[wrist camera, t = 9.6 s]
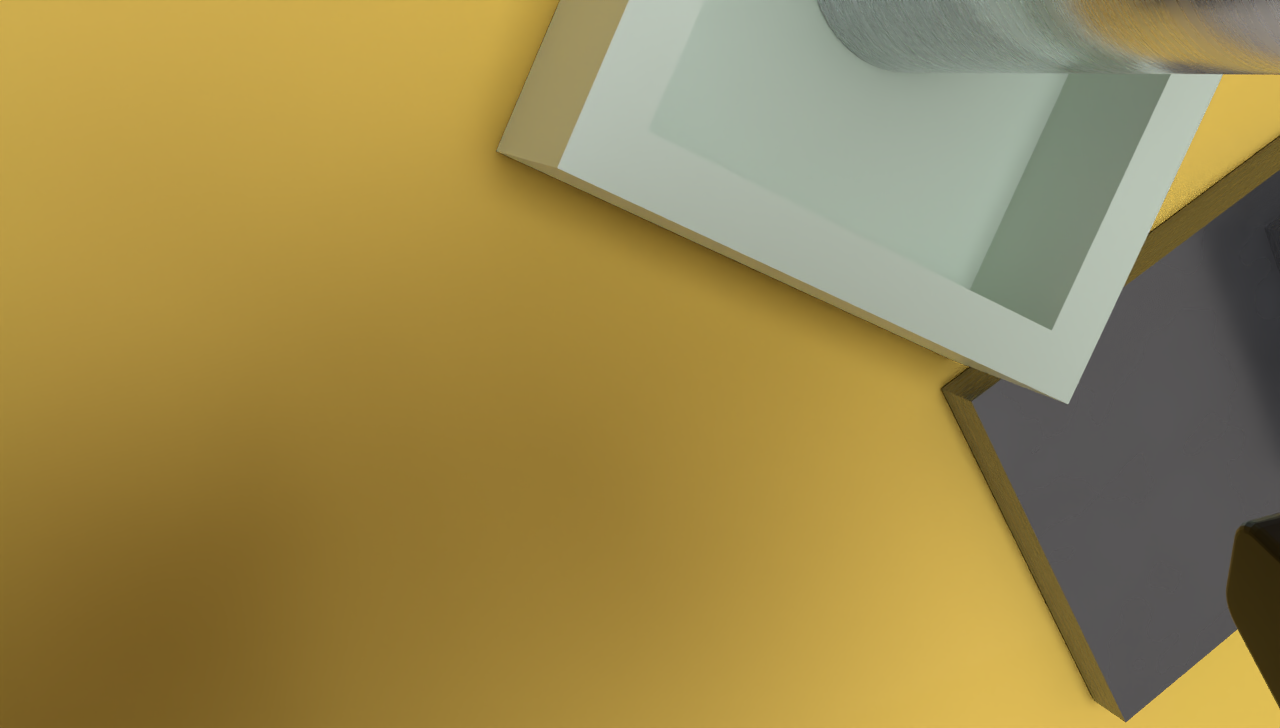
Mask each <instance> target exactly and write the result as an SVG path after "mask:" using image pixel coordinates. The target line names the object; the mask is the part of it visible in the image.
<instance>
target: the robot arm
mask: <svg viewBox="0 0 1280 728" xmlns="http://www.w3.org/2000/svg"><path fill="white" fill-rule="evenodd" d="M1226 600H1227V605H1228V609H1229V611H1230V614H1231V617H1232V619H1233V621H1234V623H1235V625H1236V627H1237V629H1238V631H1239V633H1240V635H1241V636H1242V638H1243V640H1244V642H1245V644H1246V646H1247V648H1248V650H1249V652H1250V653H1251V655H1252V657H1253V659H1254V661H1255V663H1256V665H1257V667H1258V669H1259V670H1260V672H1261V674H1262V676H1263V678H1264V680H1265V682H1266V684H1267V686H1268V688H1269V689H1270V691H1271V693H1272V695H1273V697H1274V699H1275V701H1276V703H1277V705H1278V706H1279V708H1280V513H1276V514H1272V515H1268V516H1264V517H1261V518H1257V519H1253V520H1249V521H1246V522H1244V523H1242V524H1241V525H1240V527H1239V528H1238V529H1237V530H1236V533H1235V537H1234V543H1233V549H1232V555H1231V561H1230V567H1229V573H1228V579H1227V585H1226Z"/></svg>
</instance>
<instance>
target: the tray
mask: <svg viewBox="0 0 1280 728" xmlns="http://www.w3.org/2000/svg"><path fill="white" fill-rule="evenodd" d="M1222 75H1223V74H1065V73H903V72H893V71H889V70H885V69H881V68H879V67H876V66H874V65H871V64H869V63H867V62H866V61H864V60H862V59H861V58H859V57H857V56H856V55H855V54H854V53H853V52H851V51H850V50H849V49H848V48H847V47H846V46H845V45H844V44H843V43H842V42H841V41H840V40H839V39H838V38H837V36H836V35H835V34H834V32H833V31H832V29H831V28H830V27H829V25H828V23H827V21H826V19H825V18H824V16H823V14H822V12H821V9H820V7H819V4H818V2H817V0H560V2H559V4H558V6H557V9H556V11H555V13H554V16H553V18H552V20H551V23H550V25H549V28H548V30H547V32H546V35H545V37H544V39H543V42H542V44H541V46H540V49H539V51H538V54H537V56H536V58H535V61H534V63H533V65H532V68H531V70H530V72H529V75H528V77H527V80H526V82H525V84H524V87H523V89H522V91H521V94H520V96H519V98H518V101H517V103H516V106H515V108H514V110H513V113H512V115H511V117H510V120H509V122H508V124H507V127H506V129H505V131H504V134H503V136H502V139H501V141H500V143H499V146H498V148H497V150H496V151H497V152H499V153H501V154H504V155H506V156H508V157H510V158H512V159H514V160H517V161H519V162H521V163H523V164H525V165H528V166H530V167H532V168H534V169H536V170H538V171H541V172H543V173H545V174H547V175H549V176H552V177H554V178H556V179H558V180H560V181H562V182H565V183H567V184H569V185H571V186H573V187H576V188H578V189H580V190H582V191H584V192H586V193H589V194H591V195H593V196H595V197H597V198H600V199H602V200H604V201H606V202H608V203H610V204H613V205H615V206H617V207H619V208H621V209H624V210H626V211H628V212H630V213H632V214H634V215H637V216H639V217H641V218H643V219H645V220H648V221H650V222H652V223H654V224H656V225H658V226H661V227H663V228H665V229H667V230H669V231H672V232H674V233H676V234H678V235H680V236H682V237H685V238H687V239H689V240H691V241H693V242H696V243H698V244H700V245H702V246H704V247H706V248H709V249H711V250H713V251H715V252H717V253H720V254H722V255H724V256H726V257H728V258H730V259H733V260H735V261H737V262H739V263H741V264H744V265H746V266H748V267H750V268H752V269H754V270H757V271H759V272H761V273H763V274H765V275H768V276H770V277H772V278H774V279H776V280H778V281H781V282H783V283H785V284H787V285H789V286H792V287H794V288H796V289H798V290H800V291H802V292H805V293H807V294H809V295H811V296H813V297H816V298H818V299H820V300H822V301H824V302H826V303H829V304H831V305H833V306H835V307H837V308H840V309H842V310H844V311H846V312H848V313H850V314H853V315H855V316H857V317H859V318H861V319H864V320H866V321H868V322H870V323H872V324H874V325H877V326H879V327H881V328H883V329H885V330H888V331H890V332H892V333H894V334H896V335H898V336H901V337H903V338H905V339H907V340H909V341H912V342H914V343H916V344H918V345H920V346H922V347H925V348H927V349H929V350H931V351H933V352H936V353H938V354H940V355H942V356H944V357H946V358H949V359H951V360H954V361H956V362H959V363H961V364H964V365H967V366H969V367H972V368H975V369H977V370H980V371H982V372H985V373H988V374H990V375H993V376H995V377H998V378H1001V379H1003V380H1006V381H1008V382H1011V383H1014V384H1016V385H1019V386H1021V387H1024V388H1027V389H1029V390H1032V391H1034V392H1037V393H1040V394H1042V395H1045V396H1048V397H1050V398H1053V399H1055V400H1058V401H1061V402H1063V403H1066V404H1069V402H1070V400H1071V398H1072V395H1073V393H1074V391H1075V389H1076V387H1077V385H1078V383H1079V380H1080V378H1081V376H1082V374H1083V372H1084V370H1085V368H1086V366H1087V363H1088V361H1089V359H1090V357H1091V355H1092V353H1093V351H1094V348H1095V346H1096V344H1097V342H1098V340H1099V338H1100V336H1101V334H1102V331H1103V329H1104V327H1105V325H1106V323H1107V321H1108V319H1109V316H1110V314H1111V312H1112V310H1113V308H1114V306H1115V304H1116V301H1117V299H1118V297H1119V295H1120V293H1121V291H1122V289H1123V287H1124V284H1125V282H1126V280H1127V278H1128V276H1129V274H1130V272H1131V269H1132V267H1133V265H1134V263H1135V261H1136V259H1137V257H1138V255H1139V252H1140V250H1141V248H1142V246H1143V244H1144V242H1145V240H1146V237H1147V235H1148V233H1149V231H1150V229H1151V227H1152V225H1153V223H1154V220H1155V218H1156V216H1157V214H1158V212H1159V210H1160V208H1161V205H1162V203H1163V201H1164V199H1165V197H1166V195H1167V193H1168V191H1169V188H1170V186H1171V184H1172V182H1173V180H1174V178H1175V176H1176V173H1177V171H1178V169H1179V167H1180V165H1181V163H1182V161H1183V159H1184V156H1185V154H1186V152H1187V150H1188V148H1189V146H1190V144H1191V141H1192V139H1193V137H1194V135H1195V133H1196V131H1197V129H1198V127H1199V124H1200V122H1201V120H1202V118H1203V116H1204V114H1205V112H1206V109H1207V107H1208V105H1209V103H1210V101H1211V99H1212V97H1213V95H1214V92H1215V90H1216V88H1217V86H1218V84H1219V82H1220V80H1221V77H1222Z"/></svg>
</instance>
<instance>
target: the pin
mask: <svg viewBox="0 0 1280 728" xmlns="http://www.w3.org/2000/svg"><path fill="white" fill-rule="evenodd" d="M817 2H818V4H819V7H820V9H821V12H822V14H823V16H824V18H825V19H826V21H827V23H828V25H829V27H830V28H831V29H832V31H833V32H834V34H835V35H836V36H837V38H838V39H839V40H840V41H841V42H842V43H843V44H844V45H845V46H846V47H847V48H848V49H849V50H850V51H851V52H853V53H854V54H855V55H856V56H857V57H859V58H861V59H862V60H864V61H866V62H867V63H869V64H871V65H874V66H876V67H879V68H881V69H885V70H889V71H893V72H903V73H1065V74H1280V0H817Z"/></svg>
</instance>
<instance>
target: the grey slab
mask: <svg viewBox="0 0 1280 728" xmlns="http://www.w3.org/2000/svg"><path fill="white" fill-rule="evenodd" d="M942 391H943V393H944V395H945V397H946V399H947V401H948V403H949V405H950V407H951V409H952V411H953V413H954V415H955V417H956V420H957V422H958V424H959V426H960V428H961V430H962V432H963V434H964V436H965V438H966V440H967V442H968V444H969V446H970V448H971V450H972V452H973V454H974V456H975V458H976V460H977V462H978V464H979V466H980V468H981V471H982V473H983V475H984V477H985V479H986V481H987V483H988V485H989V487H990V489H991V491H992V493H993V495H994V497H995V499H996V501H997V503H998V505H999V507H1000V509H1001V511H1002V513H1003V515H1004V517H1005V519H1006V522H1007V524H1008V526H1009V528H1010V530H1011V532H1012V534H1013V536H1014V538H1015V540H1016V542H1017V544H1018V546H1019V548H1020V550H1021V552H1022V554H1023V556H1024V558H1025V560H1026V562H1027V564H1028V566H1029V568H1030V570H1031V573H1032V575H1033V577H1034V579H1035V581H1036V583H1037V585H1038V587H1039V589H1040V591H1041V593H1042V595H1043V597H1044V599H1045V601H1046V603H1047V605H1048V607H1049V609H1050V611H1051V613H1052V615H1053V617H1054V619H1055V621H1056V624H1057V626H1058V628H1059V630H1060V632H1061V634H1062V636H1063V638H1064V640H1065V642H1066V644H1067V646H1068V648H1069V650H1070V652H1071V654H1072V656H1073V658H1074V660H1075V662H1076V664H1077V666H1078V668H1079V670H1080V672H1081V674H1082V677H1083V679H1084V681H1085V683H1086V685H1087V687H1088V689H1089V691H1090V693H1091V695H1092V697H1093V699H1094V701H1096V702H1097V703H1099V704H1100V705H1101V706H1103V707H1104V708H1106V709H1107V710H1109V711H1110V712H1111V713H1113V714H1114V715H1116V716H1117V717H1119V718H1120V719H1122V720H1123V721H1124V722H1127V721H1128V720H1129V719H1130V718H1132V717H1133V716H1134V715H1135V714H1136V713H1138V712H1139V711H1140V710H1141V709H1142V708H1144V707H1145V706H1146V705H1147V704H1148V703H1150V702H1151V701H1152V700H1153V699H1154V698H1156V697H1157V696H1158V695H1159V694H1160V693H1161V692H1163V691H1164V690H1165V689H1166V688H1167V687H1169V686H1170V685H1171V684H1172V683H1173V682H1175V681H1176V680H1177V679H1178V678H1179V677H1181V676H1182V675H1183V674H1184V673H1185V672H1187V671H1188V670H1189V669H1190V668H1191V667H1193V666H1194V665H1195V664H1196V663H1197V662H1199V661H1200V660H1201V659H1202V658H1203V657H1205V656H1206V655H1207V654H1208V653H1209V652H1211V651H1212V650H1213V649H1214V648H1215V647H1217V646H1218V645H1219V644H1220V643H1221V642H1223V641H1224V640H1225V639H1226V638H1227V637H1229V636H1230V635H1231V634H1232V633H1233V632H1235V631H1236V630H1237V627H1236V625H1235V623H1234V621H1233V619H1232V617H1231V614H1230V611H1229V609H1228V605H1227V600H1226V585H1227V579H1228V573H1229V567H1230V561H1231V555H1232V549H1233V543H1234V537H1235V533H1236V530H1237V529H1238V528H1239V527H1240V525H1241V524H1242V523H1244V522H1246V521H1249V520H1253V519H1257V518H1261V517H1264V516H1268V515H1272V514H1276V513H1280V137H1278V138H1277V139H1276V140H1274V141H1273V142H1272V143H1270V144H1269V145H1267V146H1266V147H1265V148H1263V149H1262V150H1261V151H1259V152H1258V153H1257V154H1255V155H1254V156H1253V157H1251V158H1250V159H1249V160H1247V161H1246V162H1245V163H1243V164H1242V165H1241V166H1239V167H1238V168H1237V169H1235V170H1234V171H1233V172H1231V173H1230V174H1229V175H1227V176H1226V177H1225V178H1223V179H1222V180H1221V181H1219V182H1218V183H1217V184H1215V185H1214V186H1213V187H1211V188H1210V189H1209V190H1207V191H1206V192H1205V193H1203V194H1202V195H1201V196H1199V197H1198V198H1196V199H1195V200H1194V201H1192V202H1191V203H1190V204H1188V205H1187V206H1186V207H1184V208H1183V209H1182V210H1180V211H1179V212H1178V213H1176V214H1175V215H1174V216H1172V217H1171V218H1170V219H1168V220H1167V221H1166V222H1164V223H1163V224H1162V225H1160V226H1159V227H1158V228H1156V229H1155V230H1154V231H1152V232H1151V233H1150V234H1148V235H1147V237H1146V240H1145V242H1144V244H1143V246H1142V248H1141V250H1140V252H1139V255H1138V257H1137V259H1136V261H1135V263H1134V265H1133V267H1132V269H1131V272H1130V274H1129V276H1128V278H1127V280H1126V282H1125V284H1124V287H1123V289H1122V291H1121V293H1120V295H1119V297H1118V299H1117V301H1116V304H1115V306H1114V308H1113V310H1112V312H1111V314H1110V316H1109V319H1108V321H1107V323H1106V325H1105V327H1104V329H1103V331H1102V334H1101V336H1100V338H1099V340H1098V342H1097V344H1096V346H1095V348H1094V351H1093V353H1092V355H1091V357H1090V359H1089V361H1088V363H1087V366H1086V368H1085V370H1084V372H1083V374H1082V376H1081V378H1080V380H1079V383H1078V385H1077V387H1076V389H1075V391H1074V393H1073V395H1072V398H1071V400H1070V402H1069V404H1066V403H1063V402H1061V401H1058V400H1055V399H1053V398H1050V397H1048V396H1045V395H1042V394H1040V393H1037V392H1034V391H1032V390H1029V389H1027V388H1024V387H1021V386H1019V385H1016V384H1014V383H1011V382H1008V381H1006V380H1003V379H1001V378H998V377H995V376H993V375H990V374H988V373H985V372H982V371H980V370H977V369H975V368H972V367H970V368H969V369H967V370H966V371H965V372H963V373H962V374H961V375H959V376H958V377H957V378H955V379H954V380H953V381H951V382H950V383H949V384H947V385H946V386H945V387H943V388H942Z"/></svg>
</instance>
